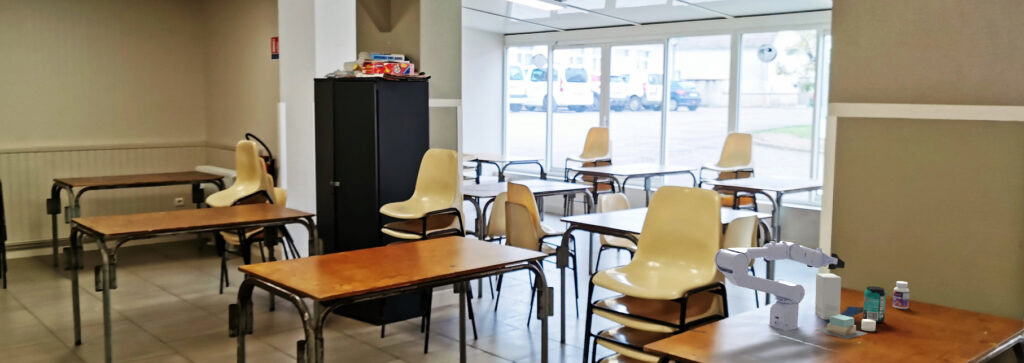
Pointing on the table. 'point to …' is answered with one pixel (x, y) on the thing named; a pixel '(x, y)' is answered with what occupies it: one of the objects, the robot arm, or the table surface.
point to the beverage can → (874, 304)
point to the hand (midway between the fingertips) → (834, 264)
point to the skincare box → (827, 295)
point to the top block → (841, 321)
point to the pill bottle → (901, 295)
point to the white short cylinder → (868, 325)
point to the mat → (858, 333)
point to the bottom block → (841, 329)
